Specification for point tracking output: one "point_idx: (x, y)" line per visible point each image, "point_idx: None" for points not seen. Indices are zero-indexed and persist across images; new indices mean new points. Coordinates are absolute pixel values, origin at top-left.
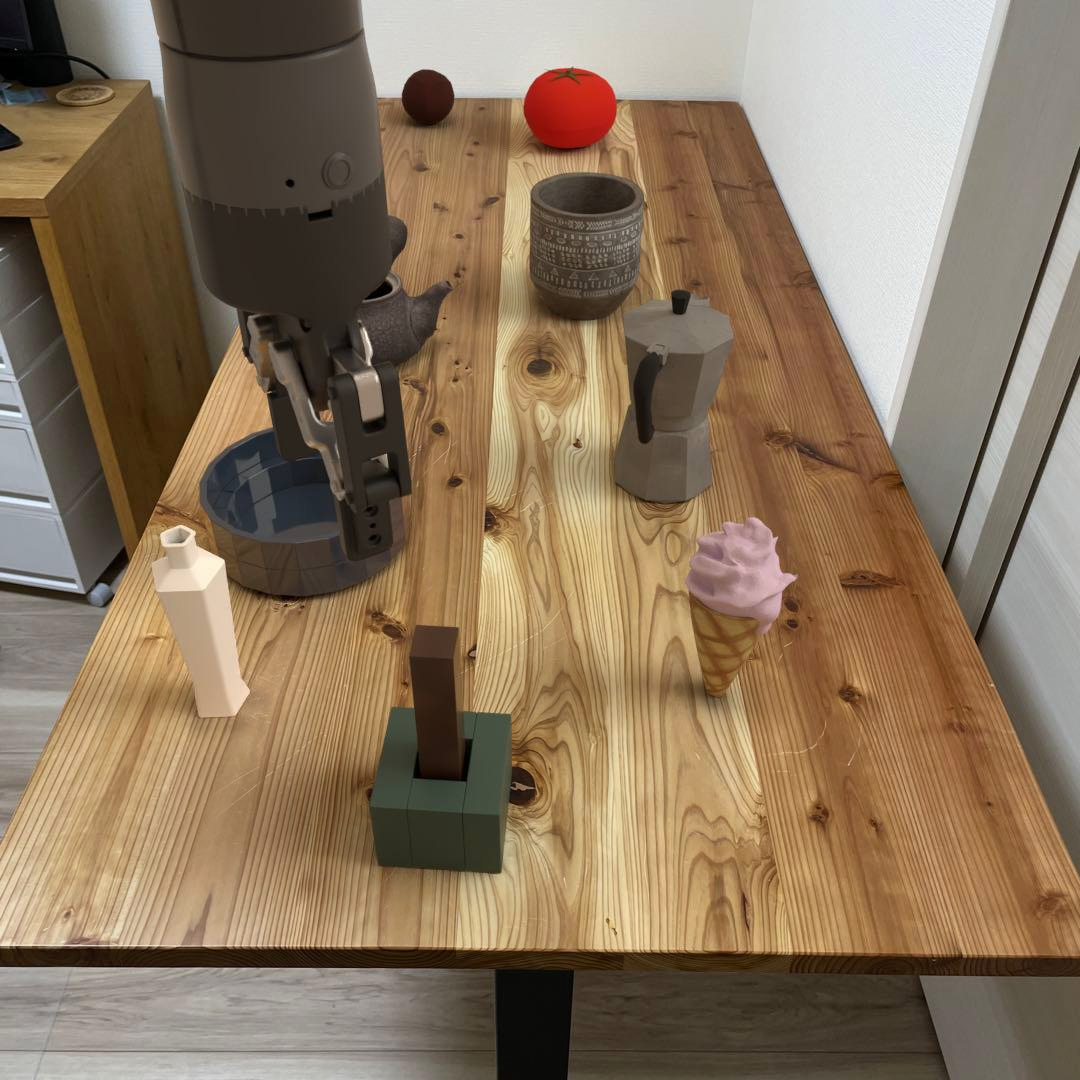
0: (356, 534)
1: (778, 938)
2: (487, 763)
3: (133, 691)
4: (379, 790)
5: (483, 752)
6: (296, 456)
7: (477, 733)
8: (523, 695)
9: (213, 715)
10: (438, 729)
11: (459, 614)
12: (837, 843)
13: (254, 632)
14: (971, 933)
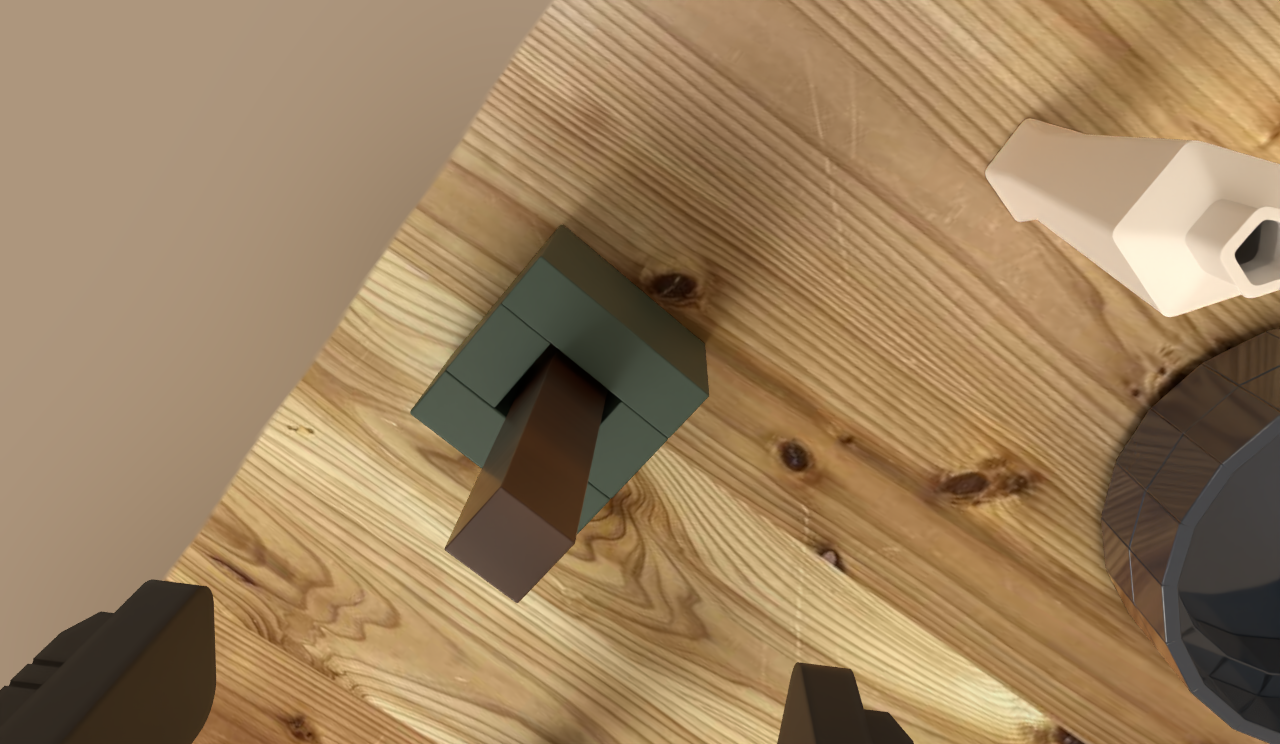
0: (40, 675)
1: (183, 575)
2: None
3: (1178, 38)
4: (559, 286)
5: None
6: (788, 702)
7: None
8: (704, 566)
9: (1009, 140)
10: (509, 430)
11: (920, 588)
12: (254, 715)
13: None
14: None
